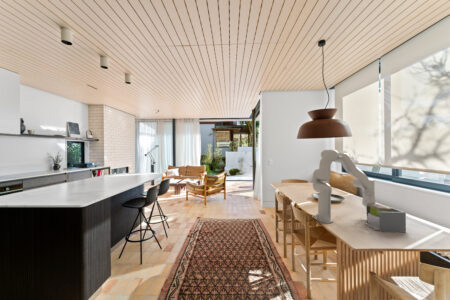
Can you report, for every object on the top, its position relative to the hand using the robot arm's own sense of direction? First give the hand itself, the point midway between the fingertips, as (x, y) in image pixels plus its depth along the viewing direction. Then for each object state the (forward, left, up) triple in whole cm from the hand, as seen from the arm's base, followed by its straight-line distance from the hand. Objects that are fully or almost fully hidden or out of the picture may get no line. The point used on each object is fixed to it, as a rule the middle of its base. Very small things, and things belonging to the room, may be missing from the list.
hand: (369, 214), depth 163 cm
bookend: (-9, -18, -4) cm, 20 cm away
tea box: (+1, -11, -4) cm, 11 cm away
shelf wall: (0, -18, -4) cm, 18 cm away
